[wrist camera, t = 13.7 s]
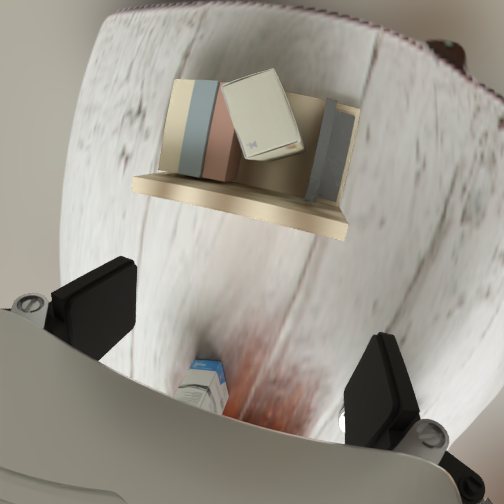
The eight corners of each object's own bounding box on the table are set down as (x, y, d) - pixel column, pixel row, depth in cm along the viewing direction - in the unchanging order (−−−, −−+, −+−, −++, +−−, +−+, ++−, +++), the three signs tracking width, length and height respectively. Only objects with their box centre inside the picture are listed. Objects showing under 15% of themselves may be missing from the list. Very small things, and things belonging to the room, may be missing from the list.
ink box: (194, 357, 44) (164, 407, 33) (222, 360, 43) (197, 414, 32) (203, 393, 47) (179, 442, 36) (229, 397, 46) (209, 448, 35)
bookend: (354, 116, 28) (363, 108, 23) (335, 201, 31) (340, 209, 26) (324, 108, 28) (326, 98, 23) (305, 193, 32) (304, 200, 26)
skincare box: (306, 151, 30) (304, 146, 19) (269, 162, 31) (245, 164, 20) (288, 98, 28) (274, 64, 17) (251, 110, 30) (218, 85, 18)
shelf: (358, 111, 29) (378, 91, 19) (334, 217, 33) (344, 241, 23) (195, 83, 31) (154, 61, 21) (177, 181, 36) (131, 192, 26)
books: (253, 94, 29) (242, 83, 24) (236, 178, 33) (222, 182, 27) (193, 88, 30) (173, 78, 25) (179, 167, 33) (156, 170, 28)
